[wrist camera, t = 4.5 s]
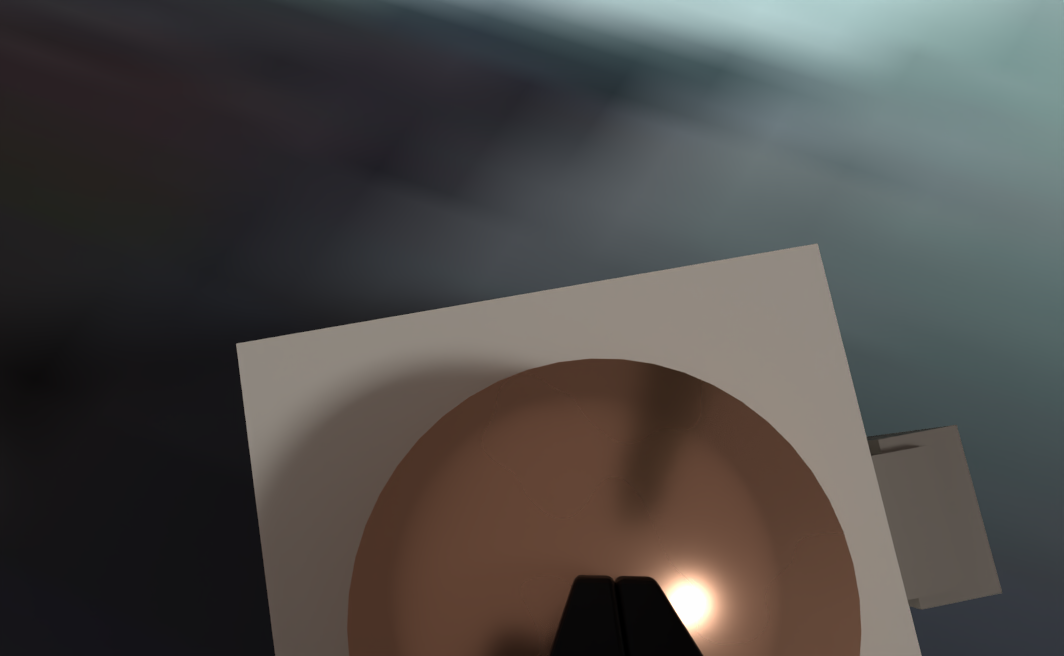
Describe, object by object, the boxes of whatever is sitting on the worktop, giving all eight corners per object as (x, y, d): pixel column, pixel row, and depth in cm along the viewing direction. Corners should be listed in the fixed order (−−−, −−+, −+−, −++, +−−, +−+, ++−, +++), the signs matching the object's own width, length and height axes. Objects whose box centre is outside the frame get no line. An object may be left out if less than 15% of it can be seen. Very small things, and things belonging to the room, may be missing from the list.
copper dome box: (849, 684, 18) (1111, 834, 10) (400, 779, 18) (320, 1015, 10) (764, 327, 20) (940, 222, 12) (344, 402, 19) (236, 343, 11)
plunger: (739, 685, 16) (919, 834, 9) (438, 747, 15) (389, 953, 9) (674, 386, 17) (794, 320, 10) (390, 439, 16) (313, 405, 10)
